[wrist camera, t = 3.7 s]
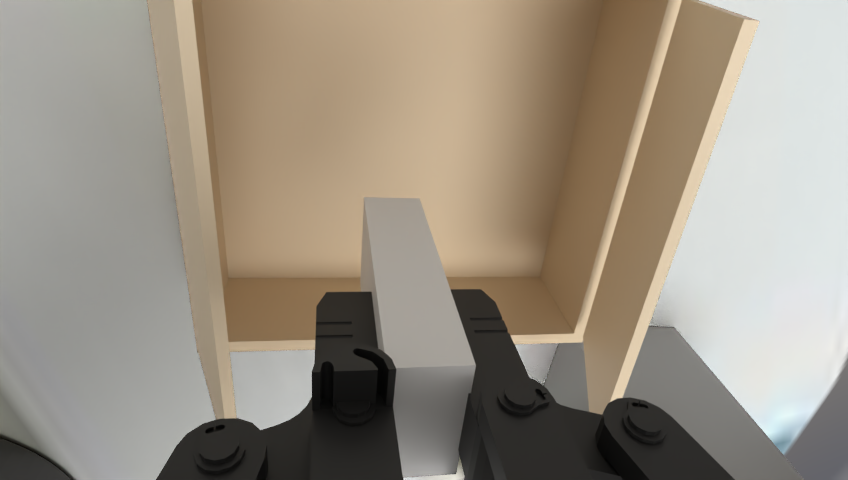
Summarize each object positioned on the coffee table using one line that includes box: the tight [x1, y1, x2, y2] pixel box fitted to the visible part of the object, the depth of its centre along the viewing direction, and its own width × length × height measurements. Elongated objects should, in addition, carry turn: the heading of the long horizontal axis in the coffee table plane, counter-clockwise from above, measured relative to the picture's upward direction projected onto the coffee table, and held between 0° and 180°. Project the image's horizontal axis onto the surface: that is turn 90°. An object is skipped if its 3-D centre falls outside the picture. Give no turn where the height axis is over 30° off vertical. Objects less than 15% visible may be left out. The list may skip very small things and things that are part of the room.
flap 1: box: [148, 0, 236, 420], centre depth 15 cm, size 6×13×1 cm
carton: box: [147, 0, 682, 353], centre depth 21 cm, size 16×15×5 cm
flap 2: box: [583, 0, 759, 414], centre depth 17 cm, size 6×13×1 cm
